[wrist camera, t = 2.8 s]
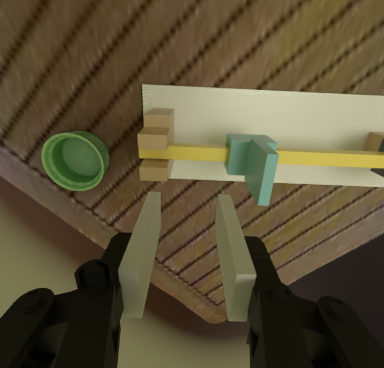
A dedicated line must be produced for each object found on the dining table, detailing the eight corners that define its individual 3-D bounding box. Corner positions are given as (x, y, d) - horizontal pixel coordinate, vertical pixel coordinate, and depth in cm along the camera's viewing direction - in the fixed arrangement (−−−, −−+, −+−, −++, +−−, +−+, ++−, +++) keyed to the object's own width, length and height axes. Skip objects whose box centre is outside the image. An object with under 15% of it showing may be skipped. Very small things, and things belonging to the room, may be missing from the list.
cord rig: (143, 84, 32) (118, 86, 21) (430, 98, 33) (550, 107, 22) (147, 174, 38) (129, 213, 27) (391, 184, 39) (470, 226, 28)
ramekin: (74, 114, 34) (59, 119, 30) (124, 152, 37) (115, 161, 33) (47, 156, 37) (30, 166, 33) (95, 189, 40) (84, 201, 36)
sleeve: (227, 129, 28) (243, 152, 19) (267, 131, 28) (302, 155, 19) (223, 167, 30) (236, 204, 21) (260, 168, 30) (289, 206, 21)
